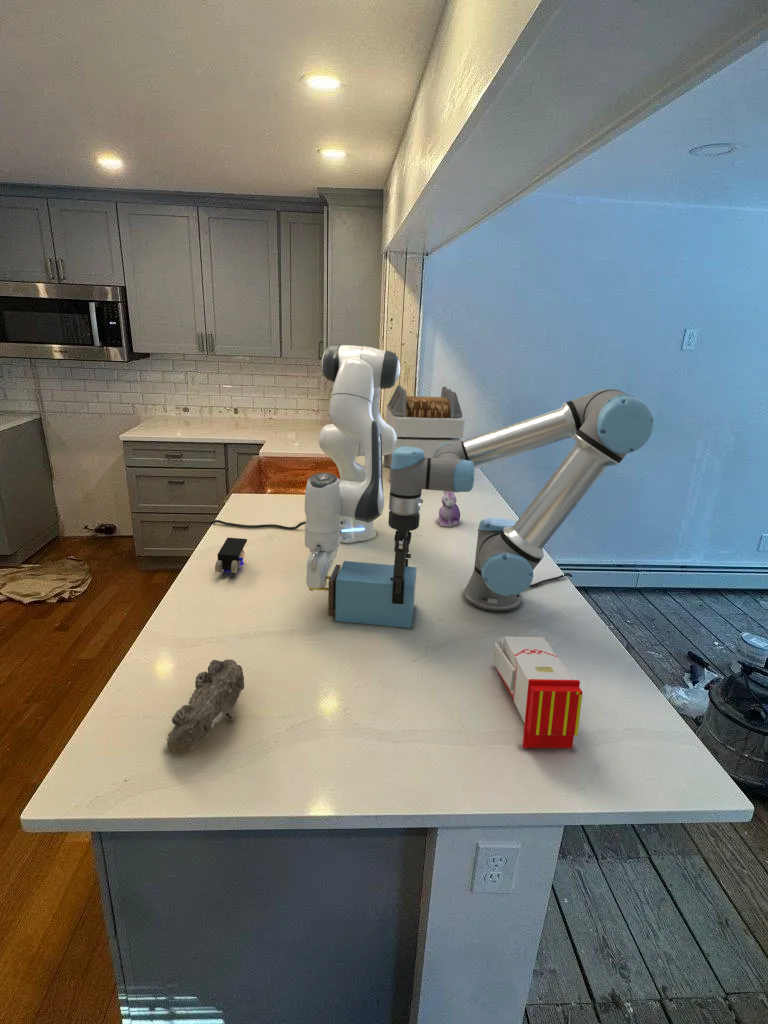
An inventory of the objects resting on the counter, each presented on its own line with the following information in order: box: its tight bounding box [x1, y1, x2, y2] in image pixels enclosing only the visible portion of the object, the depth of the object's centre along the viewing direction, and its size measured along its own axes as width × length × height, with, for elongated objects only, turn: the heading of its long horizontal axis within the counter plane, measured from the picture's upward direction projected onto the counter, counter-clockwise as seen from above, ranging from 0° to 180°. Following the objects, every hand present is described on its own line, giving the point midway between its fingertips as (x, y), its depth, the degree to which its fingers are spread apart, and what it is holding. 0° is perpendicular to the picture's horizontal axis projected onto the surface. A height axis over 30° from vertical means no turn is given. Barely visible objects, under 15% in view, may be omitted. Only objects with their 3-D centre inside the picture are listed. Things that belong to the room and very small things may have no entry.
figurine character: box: [214, 537, 248, 578], centre depth 166 cm, size 7×8×15 cm
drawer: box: [308, 564, 342, 617], centre depth 146 cm, size 23×10×10 cm, turn 84°
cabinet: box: [335, 560, 418, 629], centre depth 145 cm, size 19×11×12 cm, turn 83°
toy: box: [491, 636, 583, 749], centre depth 115 cm, size 12×13×30 cm
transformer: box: [382, 384, 465, 481], centre depth 268 cm, size 34×33×41 cm
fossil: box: [166, 658, 245, 754], centre depth 106 cm, size 22×10×15 cm
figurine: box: [437, 491, 461, 528], centre depth 209 cm, size 9×10×15 cm
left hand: (322, 587), depth 147 cm, fingers closed
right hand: (399, 592), depth 144 cm, fingers closed on cabinet, 11 cm apart
